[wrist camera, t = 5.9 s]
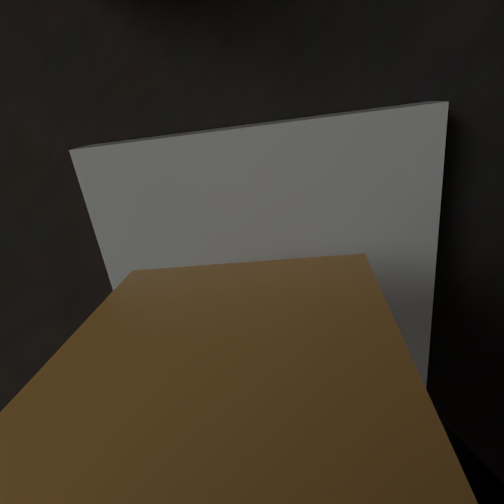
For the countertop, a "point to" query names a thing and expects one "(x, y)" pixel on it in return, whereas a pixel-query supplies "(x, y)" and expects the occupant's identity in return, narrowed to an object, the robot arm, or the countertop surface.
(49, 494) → the cardboard carton
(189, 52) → the countertop surface
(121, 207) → the post plate
